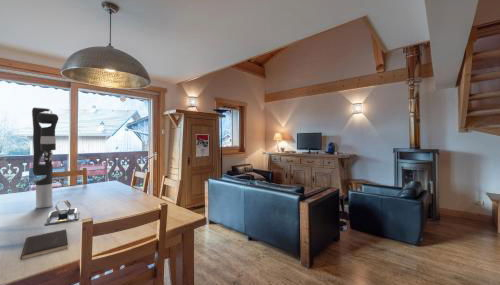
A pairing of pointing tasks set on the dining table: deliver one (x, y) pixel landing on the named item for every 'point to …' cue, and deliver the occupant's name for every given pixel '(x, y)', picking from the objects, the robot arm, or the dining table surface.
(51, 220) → the rack
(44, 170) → the robot arm
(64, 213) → the watch
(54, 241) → the hardcover book
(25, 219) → the dining table surface
